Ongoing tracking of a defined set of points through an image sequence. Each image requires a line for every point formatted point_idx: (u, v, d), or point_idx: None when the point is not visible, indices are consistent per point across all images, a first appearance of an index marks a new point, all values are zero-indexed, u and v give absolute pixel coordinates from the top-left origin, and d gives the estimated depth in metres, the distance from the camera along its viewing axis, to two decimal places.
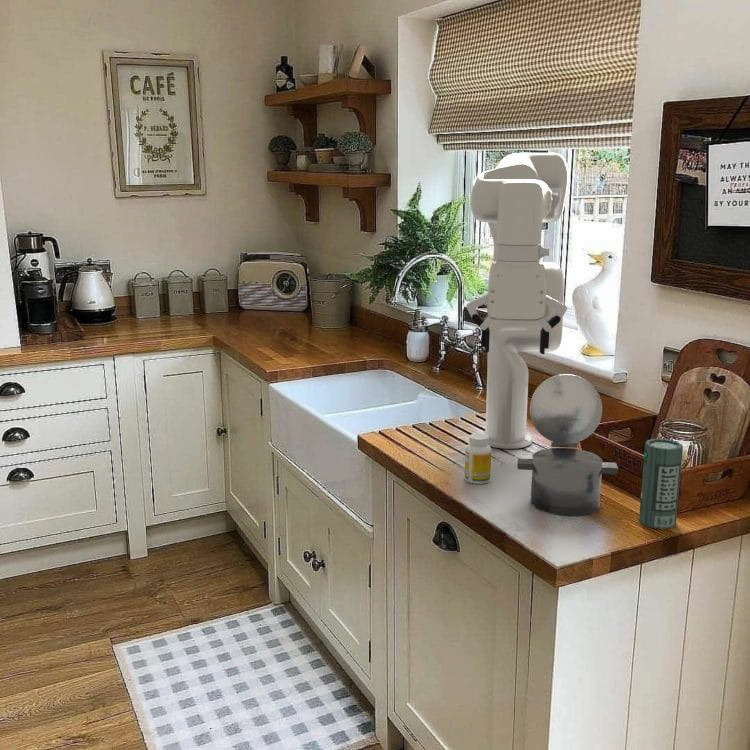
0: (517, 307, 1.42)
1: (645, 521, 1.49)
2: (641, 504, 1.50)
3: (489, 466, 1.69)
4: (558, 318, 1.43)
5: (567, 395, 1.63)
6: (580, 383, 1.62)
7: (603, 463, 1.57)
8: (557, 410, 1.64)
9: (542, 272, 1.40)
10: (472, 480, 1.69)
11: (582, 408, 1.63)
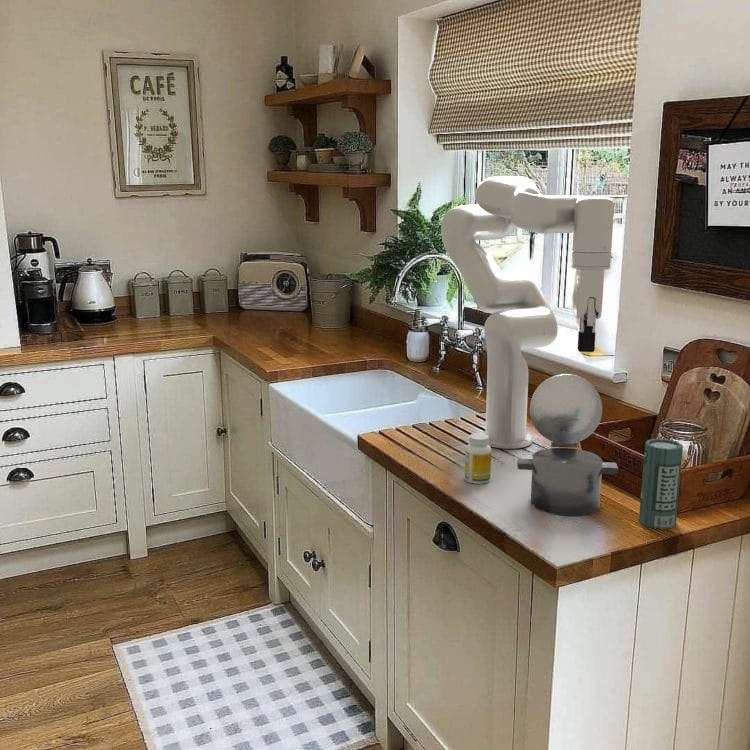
0: None
1: (645, 521, 1.49)
2: (641, 504, 1.50)
3: (489, 466, 1.69)
4: None
5: (567, 395, 1.63)
6: (580, 383, 1.62)
7: (603, 463, 1.57)
8: (557, 410, 1.64)
9: None
10: (472, 480, 1.69)
11: (582, 408, 1.63)
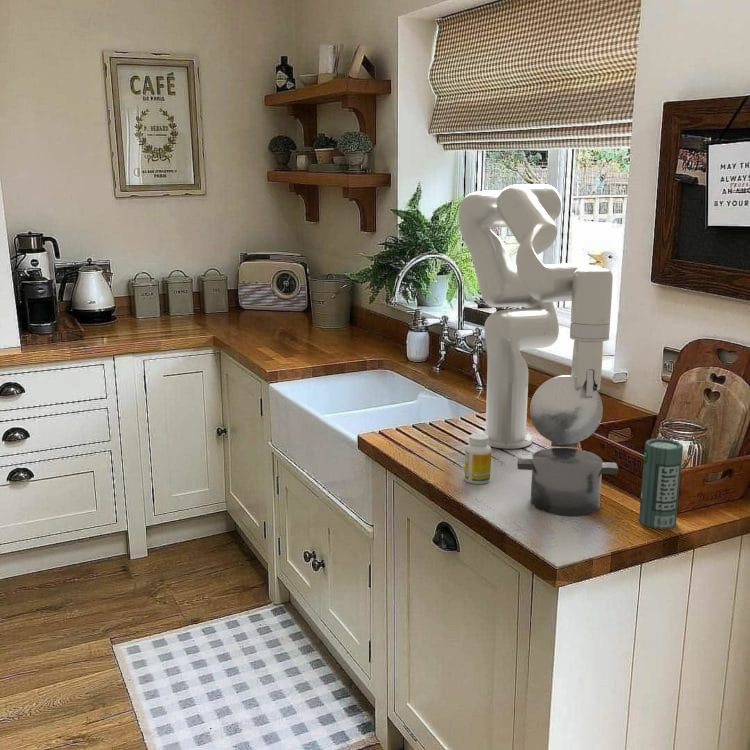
0: None
1: (645, 521, 1.49)
2: (641, 504, 1.50)
3: (489, 466, 1.69)
4: None
5: (568, 396, 1.62)
6: None
7: (603, 463, 1.57)
8: (558, 411, 1.63)
9: None
10: (472, 480, 1.69)
11: (582, 409, 1.62)
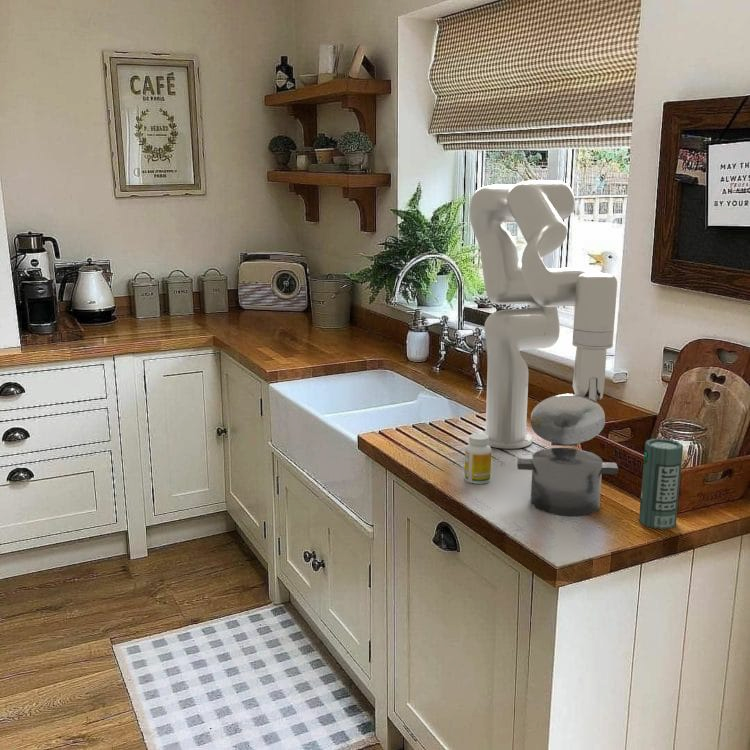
0: None
1: (645, 521, 1.49)
2: (641, 504, 1.50)
3: (489, 466, 1.69)
4: None
5: (569, 412, 1.57)
6: (584, 404, 1.55)
7: (603, 463, 1.57)
8: (559, 422, 1.59)
9: None
10: (472, 480, 1.69)
11: (584, 421, 1.58)
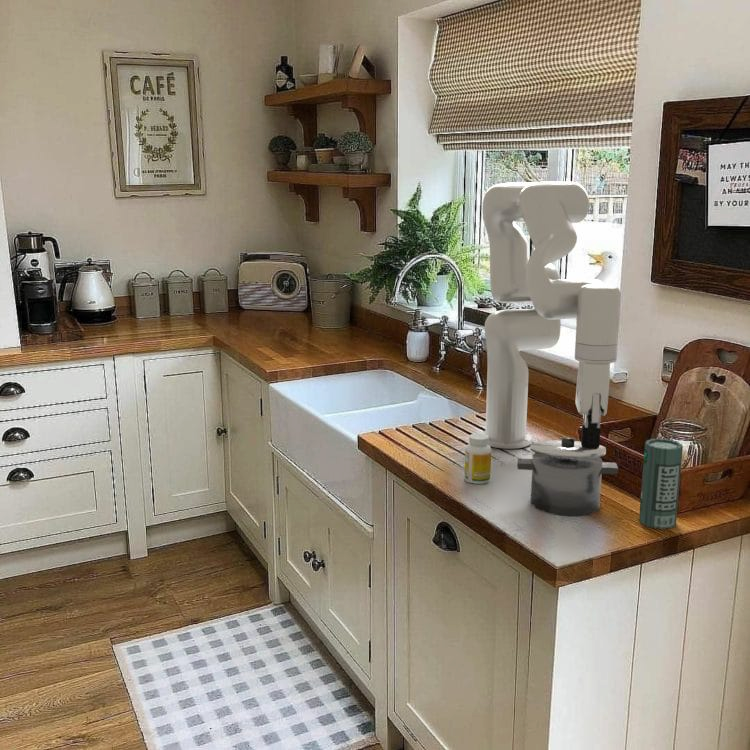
0: None
1: (645, 521, 1.49)
2: (641, 504, 1.50)
3: (489, 466, 1.69)
4: None
5: None
6: None
7: (603, 463, 1.57)
8: None
9: None
10: (472, 480, 1.69)
11: None
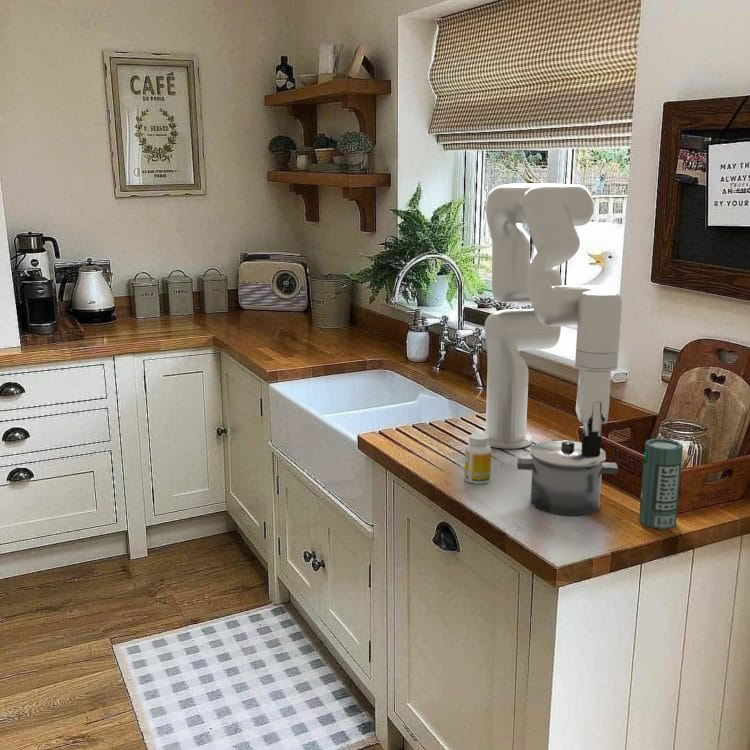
0: None
1: (645, 521, 1.49)
2: (641, 504, 1.50)
3: (489, 466, 1.69)
4: None
5: None
6: None
7: (603, 463, 1.57)
8: None
9: None
10: (472, 480, 1.69)
11: None
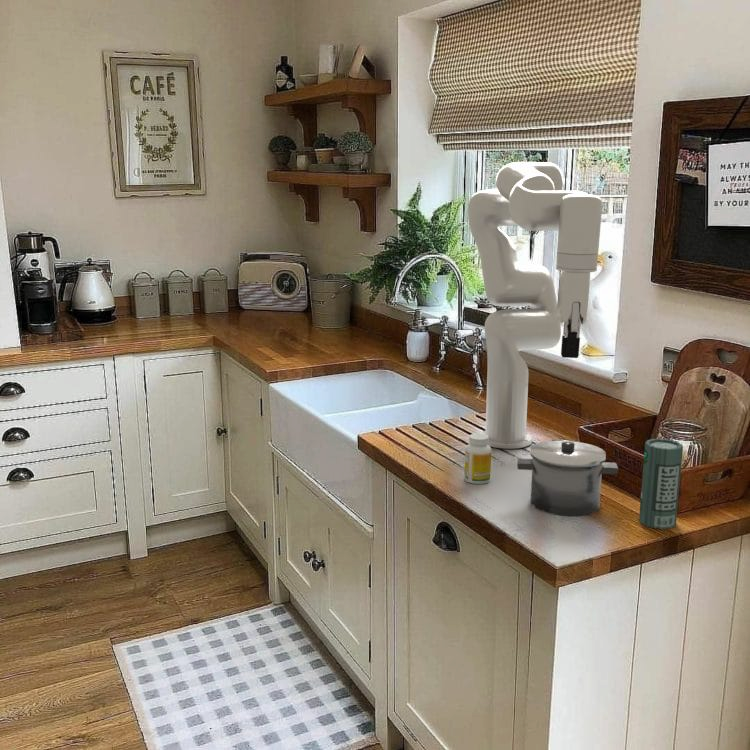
0: None
1: (645, 521, 1.49)
2: (641, 504, 1.50)
3: (489, 466, 1.69)
4: None
5: None
6: None
7: (603, 463, 1.57)
8: None
9: None
10: (472, 480, 1.69)
11: None
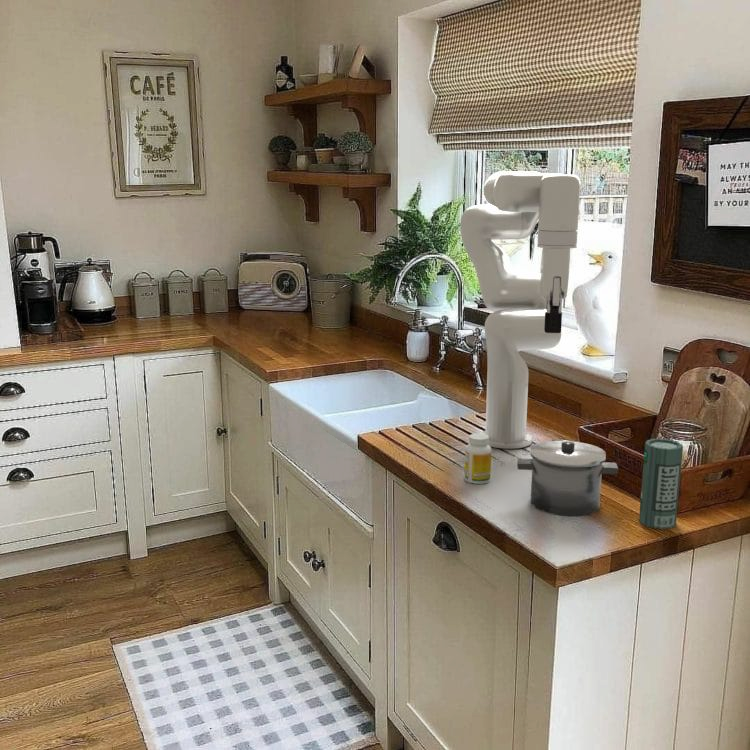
0: None
1: (645, 521, 1.49)
2: (641, 504, 1.50)
3: (489, 466, 1.69)
4: None
5: None
6: None
7: (603, 463, 1.57)
8: None
9: None
10: (472, 480, 1.69)
11: None
